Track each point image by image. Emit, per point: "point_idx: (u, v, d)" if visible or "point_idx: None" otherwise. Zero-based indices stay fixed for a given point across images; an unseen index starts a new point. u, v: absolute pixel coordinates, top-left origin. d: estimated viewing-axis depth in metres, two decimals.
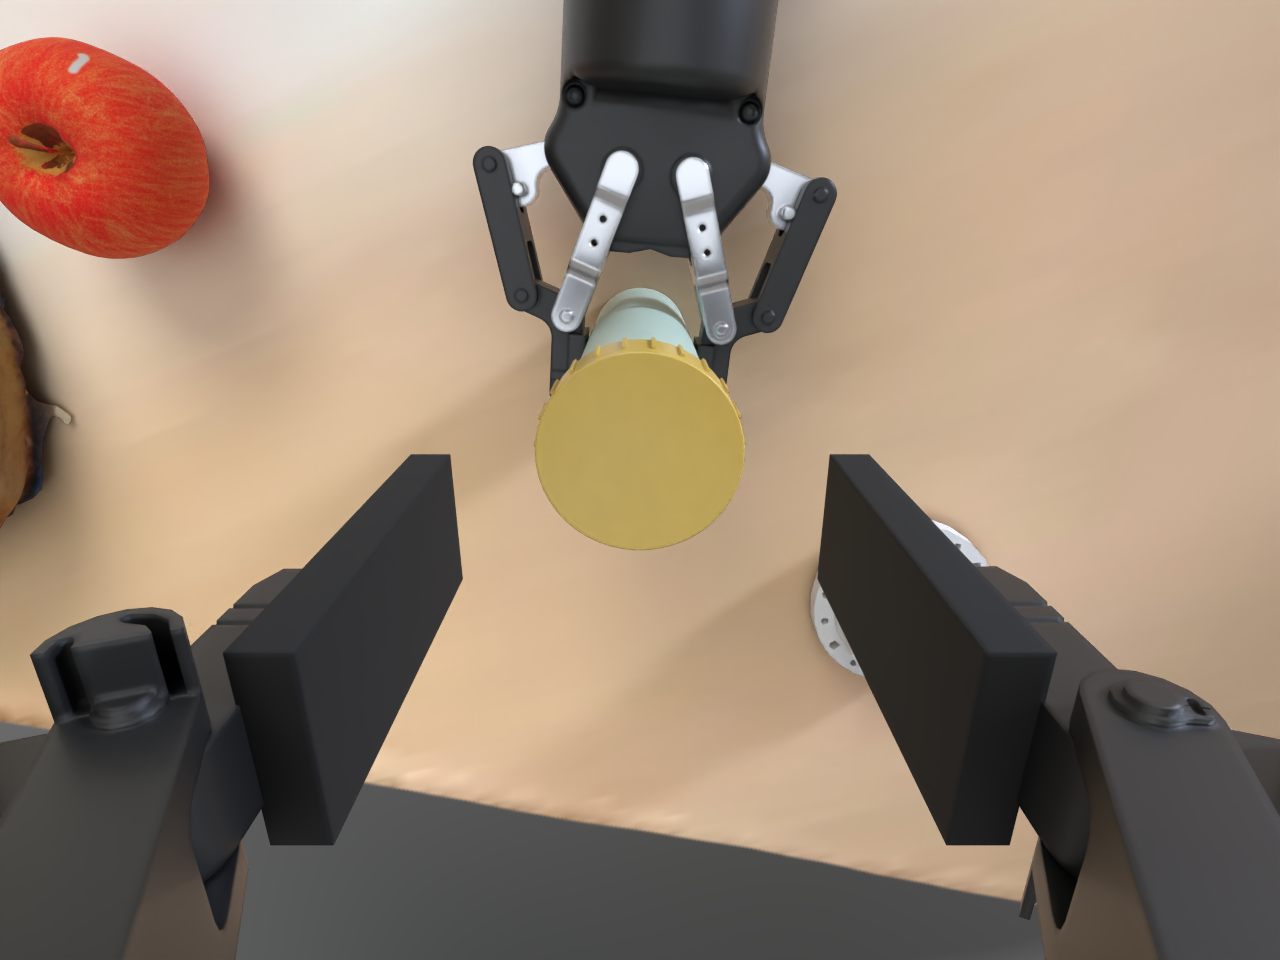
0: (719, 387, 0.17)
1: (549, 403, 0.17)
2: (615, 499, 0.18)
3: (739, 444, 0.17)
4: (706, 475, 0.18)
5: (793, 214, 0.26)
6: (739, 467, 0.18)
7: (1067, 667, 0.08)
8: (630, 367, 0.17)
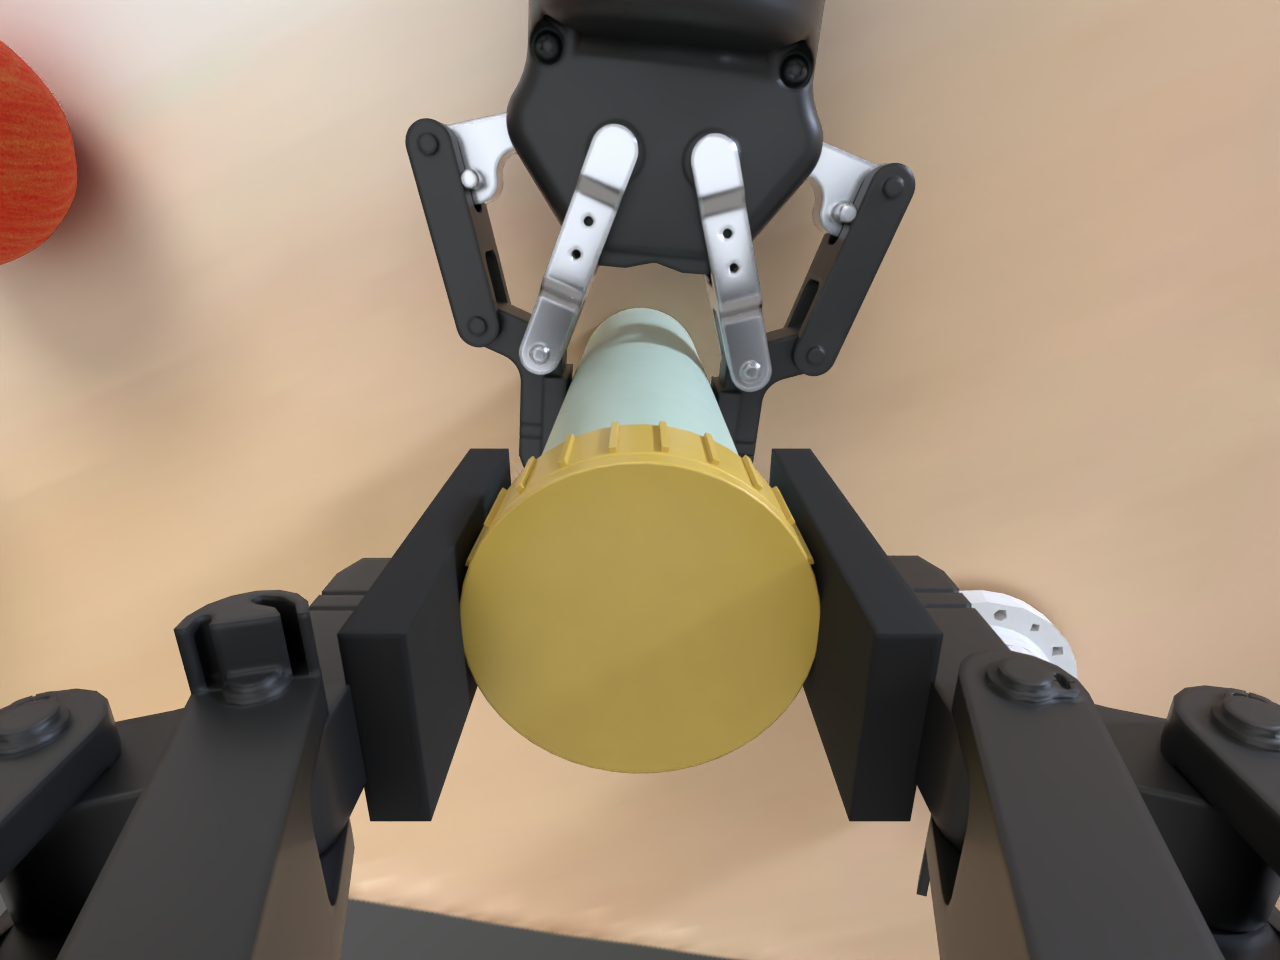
0: (781, 521, 0.10)
1: (481, 547, 0.10)
2: (599, 697, 0.11)
3: (812, 613, 0.10)
4: (754, 662, 0.10)
5: (853, 215, 0.19)
6: (810, 649, 0.10)
7: (963, 650, 0.09)
8: (623, 488, 0.09)
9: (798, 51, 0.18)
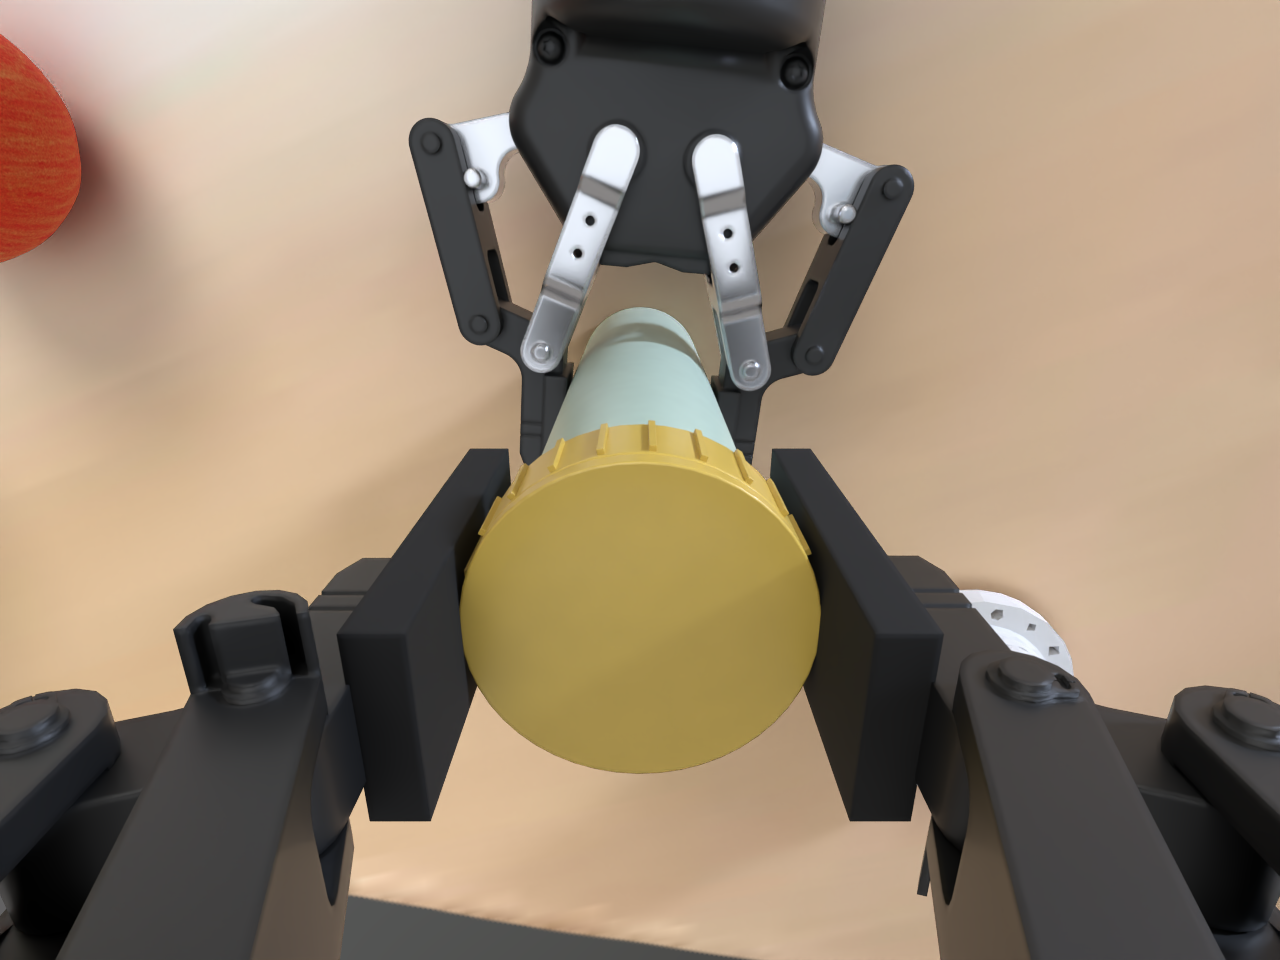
0: (460, 607, 0.10)
1: (660, 770, 0.11)
2: (729, 617, 0.10)
3: (507, 524, 0.10)
4: (591, 530, 0.10)
5: (853, 215, 0.19)
6: (540, 494, 0.09)
7: (963, 650, 0.09)
8: (535, 720, 0.11)
9: (799, 53, 0.18)
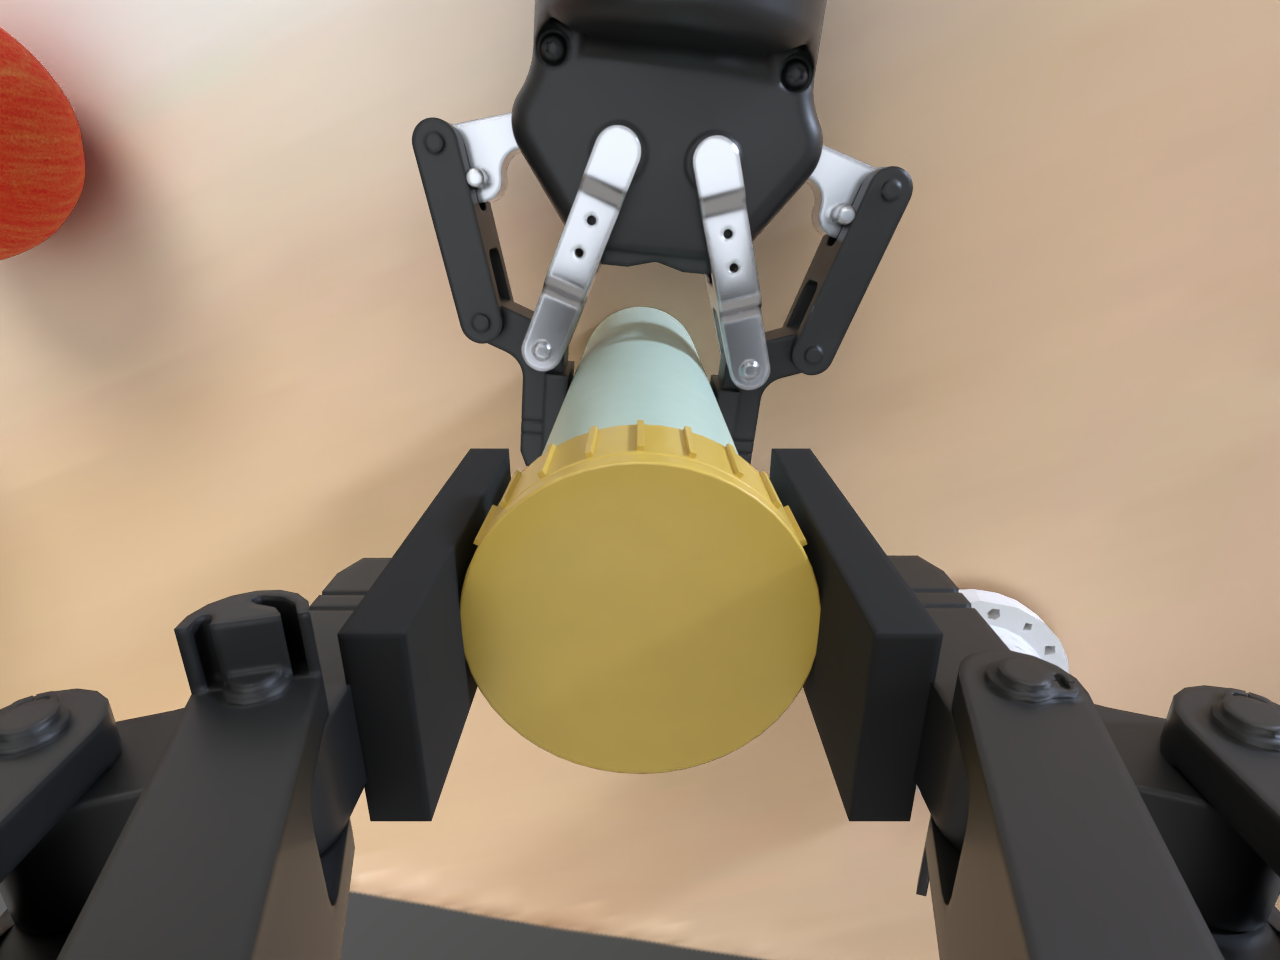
0: (723, 755, 0.11)
1: (772, 514, 0.10)
2: (568, 581, 0.10)
3: (626, 768, 0.11)
4: (584, 719, 0.11)
5: (852, 217, 0.19)
6: (587, 761, 0.11)
7: (963, 649, 0.09)
8: (793, 647, 0.10)
9: (799, 56, 0.18)
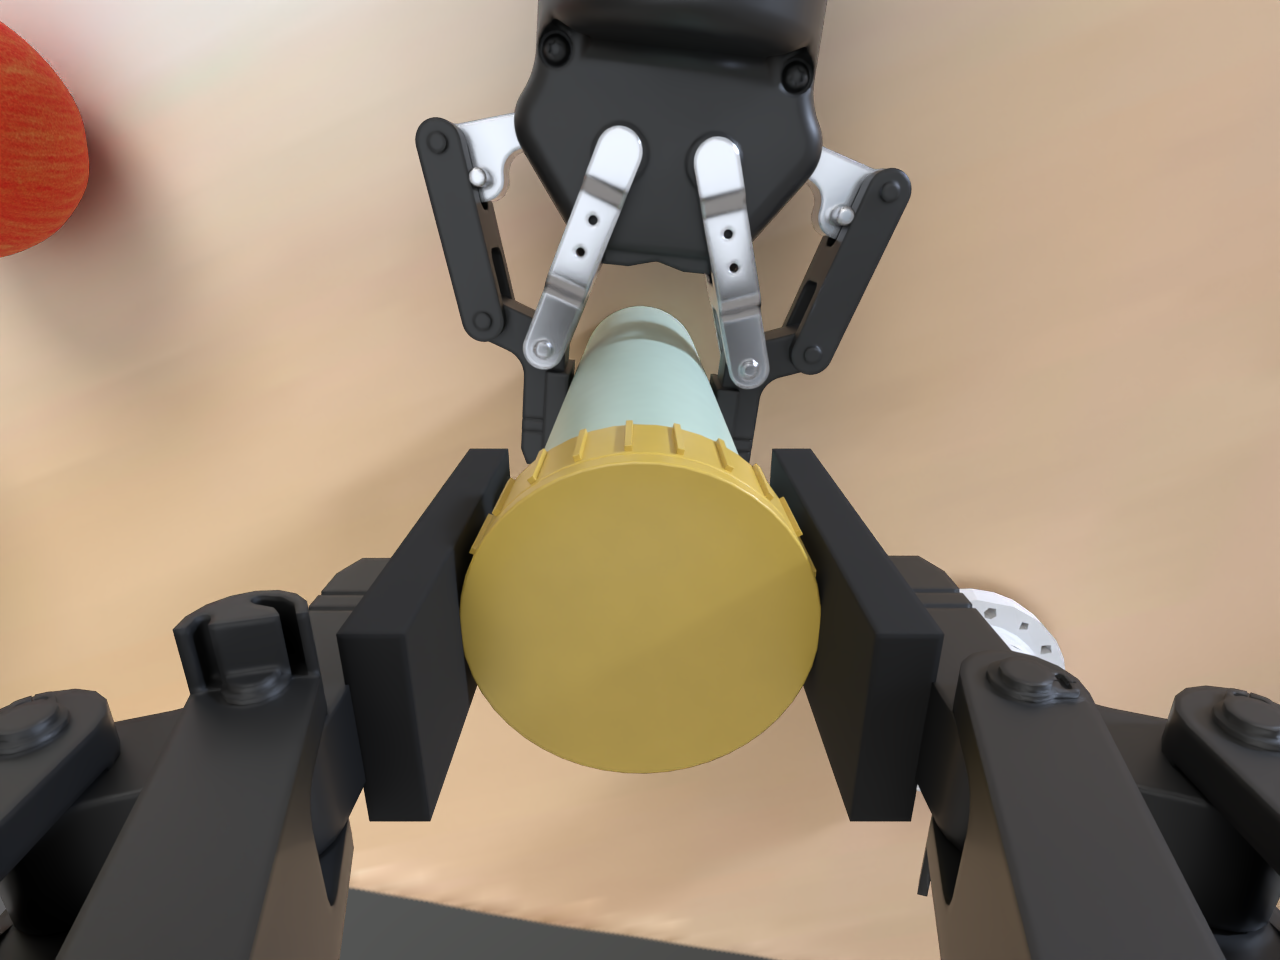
0: (710, 475, 0.09)
1: (461, 618, 0.10)
2: (638, 706, 0.11)
3: (790, 546, 0.10)
4: (761, 614, 0.10)
5: (851, 218, 0.19)
6: (809, 579, 0.10)
7: (964, 650, 0.09)
8: (551, 511, 0.10)
9: (799, 58, 0.18)
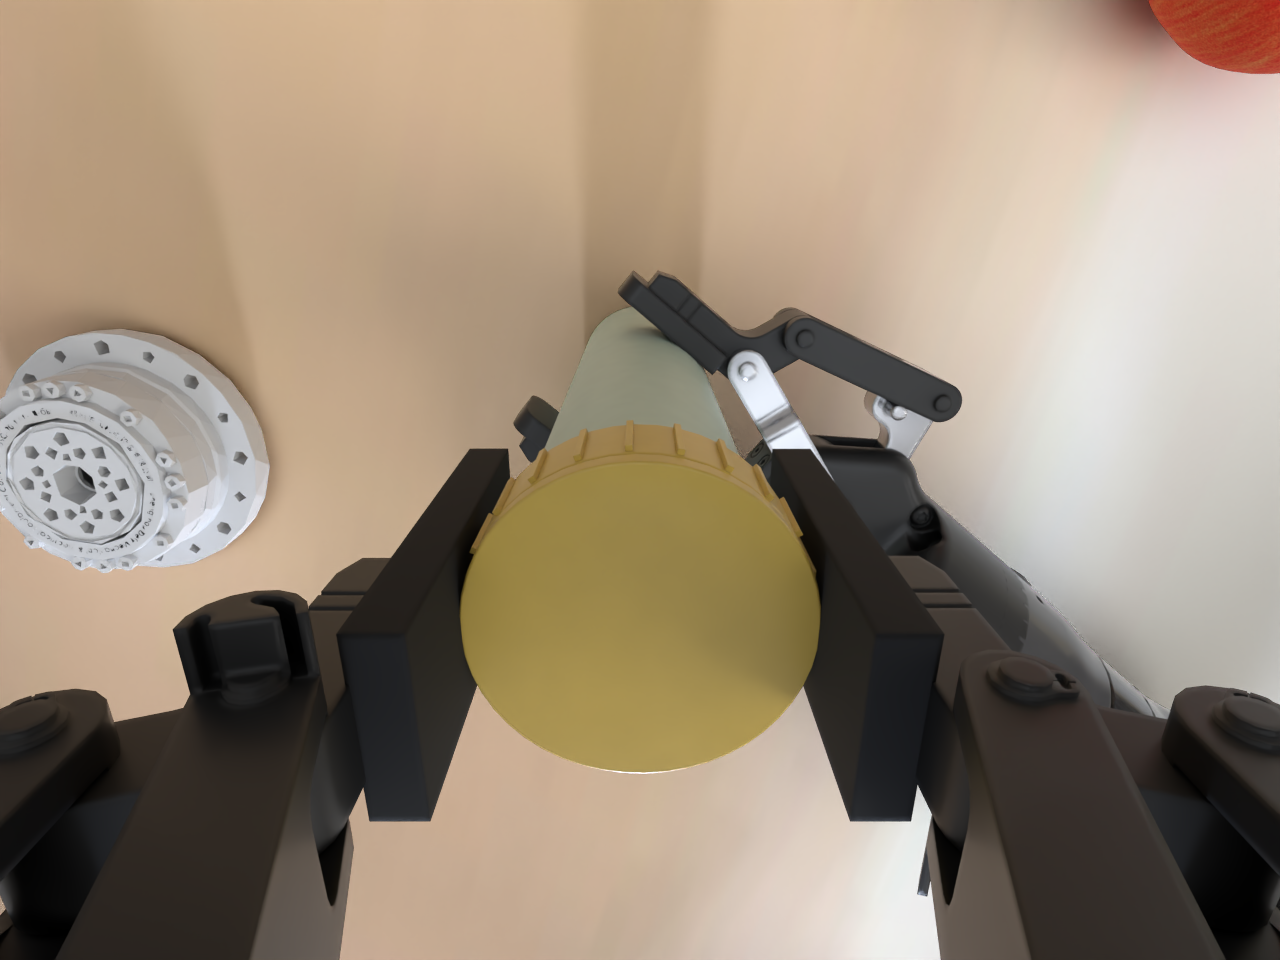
0: (710, 475, 0.09)
1: (461, 617, 0.10)
2: (638, 706, 0.11)
3: (790, 546, 0.10)
4: (761, 614, 0.10)
5: None
6: (809, 579, 0.10)
7: (965, 650, 0.09)
8: (551, 511, 0.10)
9: None
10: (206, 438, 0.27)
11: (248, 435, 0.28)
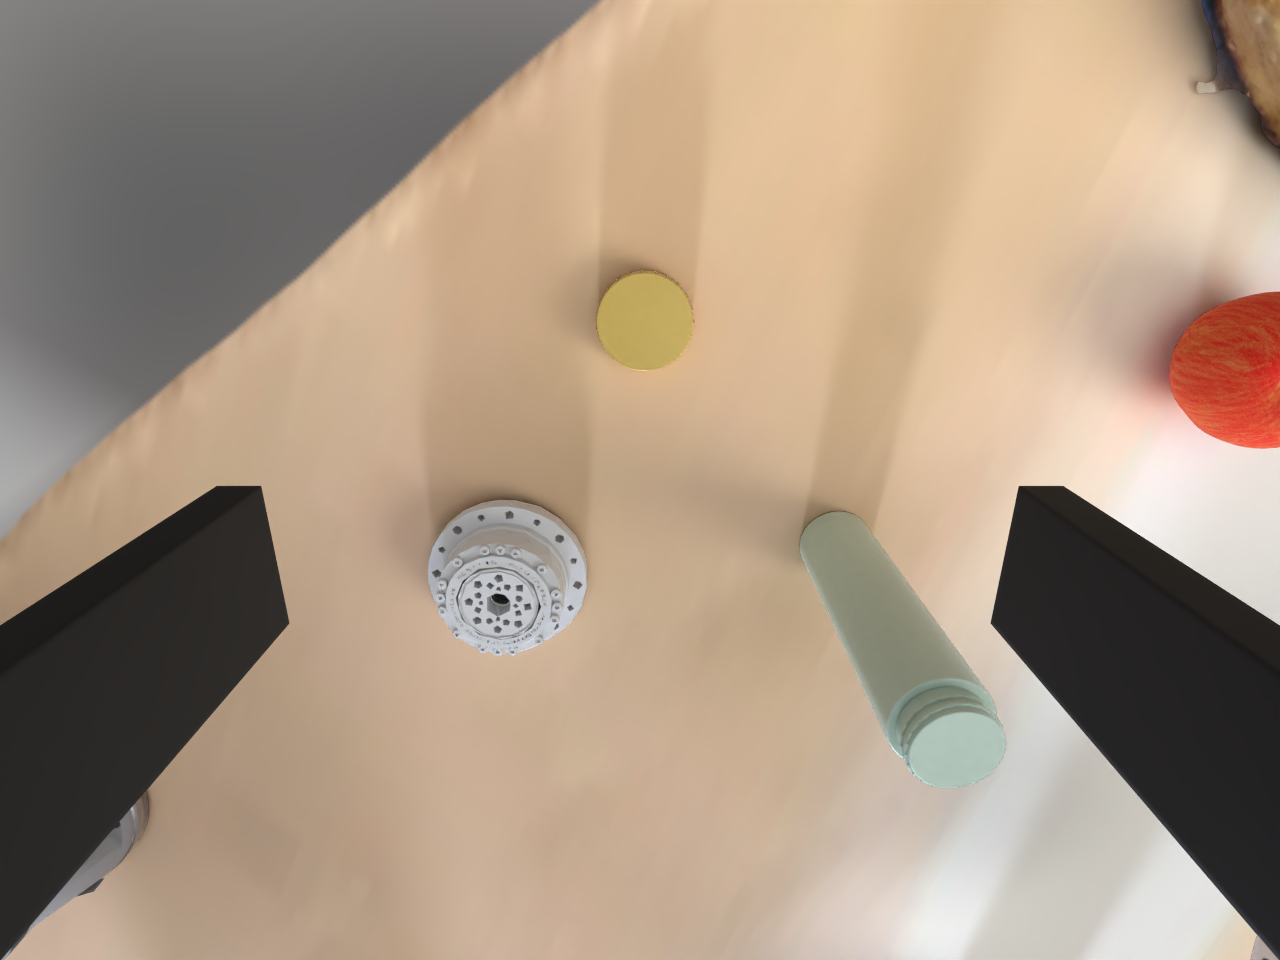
0: (662, 276, 0.37)
1: (597, 318, 0.38)
2: (644, 347, 0.39)
3: (683, 296, 0.38)
4: (676, 317, 0.38)
5: None
6: (689, 306, 0.38)
7: None
8: (622, 286, 0.38)
9: None
10: (565, 574, 0.43)
11: (585, 572, 0.44)
